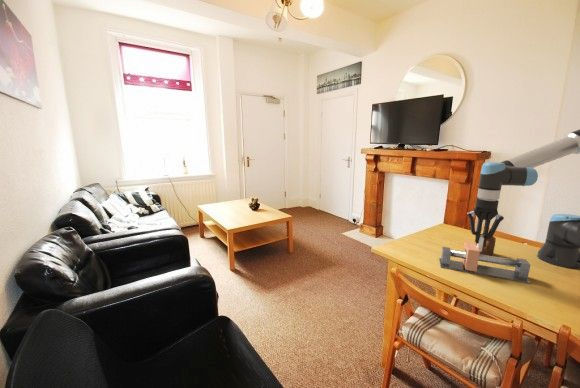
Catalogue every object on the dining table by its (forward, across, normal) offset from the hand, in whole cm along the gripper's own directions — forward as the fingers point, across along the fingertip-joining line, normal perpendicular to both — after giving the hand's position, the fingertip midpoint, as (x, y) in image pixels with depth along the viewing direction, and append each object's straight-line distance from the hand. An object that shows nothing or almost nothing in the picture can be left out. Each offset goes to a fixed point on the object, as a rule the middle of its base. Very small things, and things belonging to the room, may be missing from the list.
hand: (478, 250), depth 115 cm
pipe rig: (+10, -2, 0) cm, 10 cm away
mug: (+10, -7, -19) cm, 23 cm away
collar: (+8, +3, 0) cm, 9 cm away
